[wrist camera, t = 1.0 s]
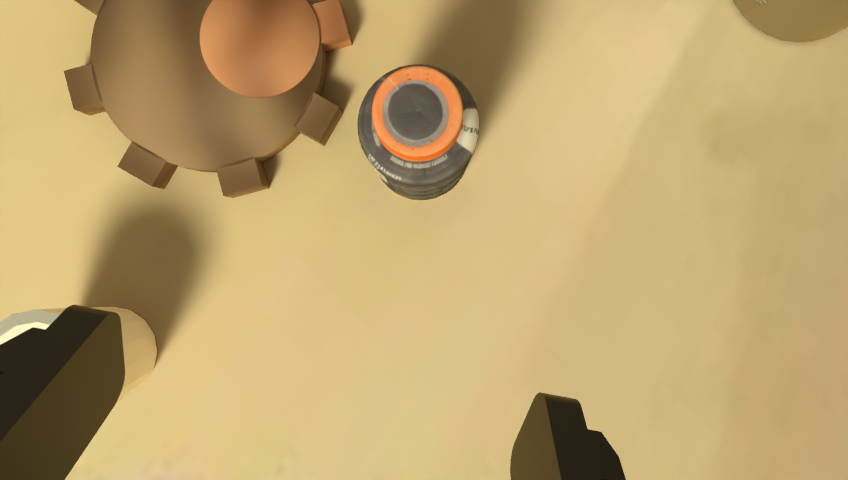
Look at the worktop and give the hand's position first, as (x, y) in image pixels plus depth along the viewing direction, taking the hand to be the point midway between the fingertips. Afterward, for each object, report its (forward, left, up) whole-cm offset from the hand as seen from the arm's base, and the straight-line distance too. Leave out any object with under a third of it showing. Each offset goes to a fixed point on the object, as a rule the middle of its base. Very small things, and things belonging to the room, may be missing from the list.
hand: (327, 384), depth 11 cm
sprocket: (+7, -17, -24) cm, 30 cm away
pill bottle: (-4, -8, -24) cm, 26 cm away
